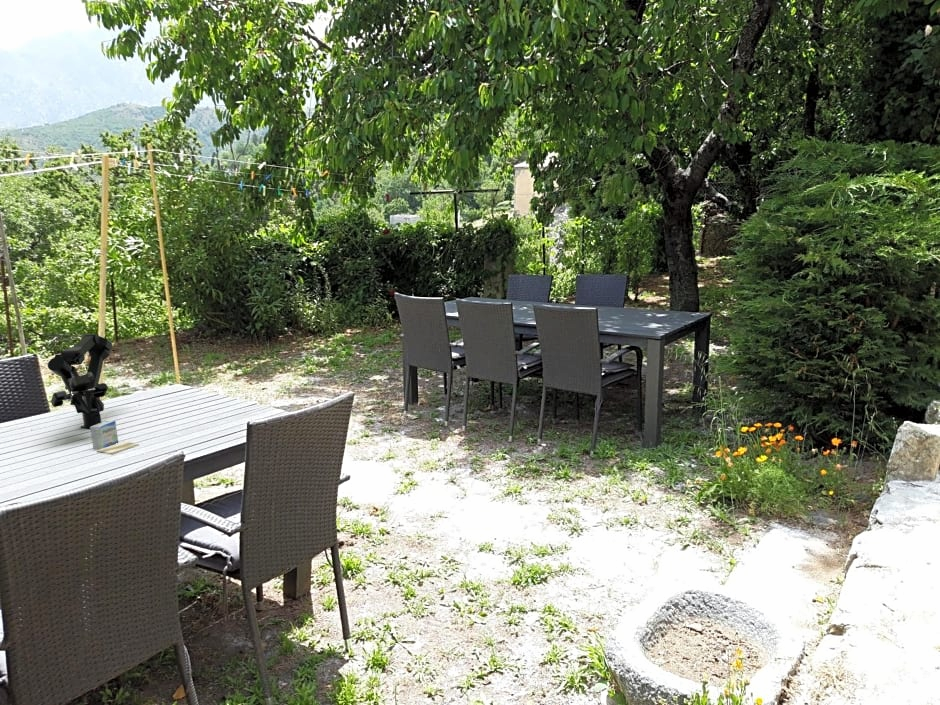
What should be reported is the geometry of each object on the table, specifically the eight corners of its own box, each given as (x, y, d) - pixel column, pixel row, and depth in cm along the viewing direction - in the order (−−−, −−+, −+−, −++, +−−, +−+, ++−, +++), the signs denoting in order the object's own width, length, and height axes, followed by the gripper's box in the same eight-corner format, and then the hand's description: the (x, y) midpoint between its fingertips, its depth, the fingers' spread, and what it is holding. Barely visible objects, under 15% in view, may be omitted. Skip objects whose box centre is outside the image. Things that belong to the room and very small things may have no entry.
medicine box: (103, 449, 249) (100, 426, 248) (92, 449, 250) (89, 426, 249) (118, 443, 257) (115, 420, 255) (108, 442, 258) (105, 420, 256)
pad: (96, 452, 247) (96, 450, 247) (123, 442, 257) (123, 441, 257) (112, 454, 244) (111, 453, 243) (138, 445, 253) (138, 443, 253)
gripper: (49, 371, 250) (67, 405, 246) (102, 362, 265) (120, 393, 260) (43, 389, 256) (60, 423, 252) (95, 380, 271) (112, 411, 266)
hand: (89, 412), depth 257 cm, fingers closed
